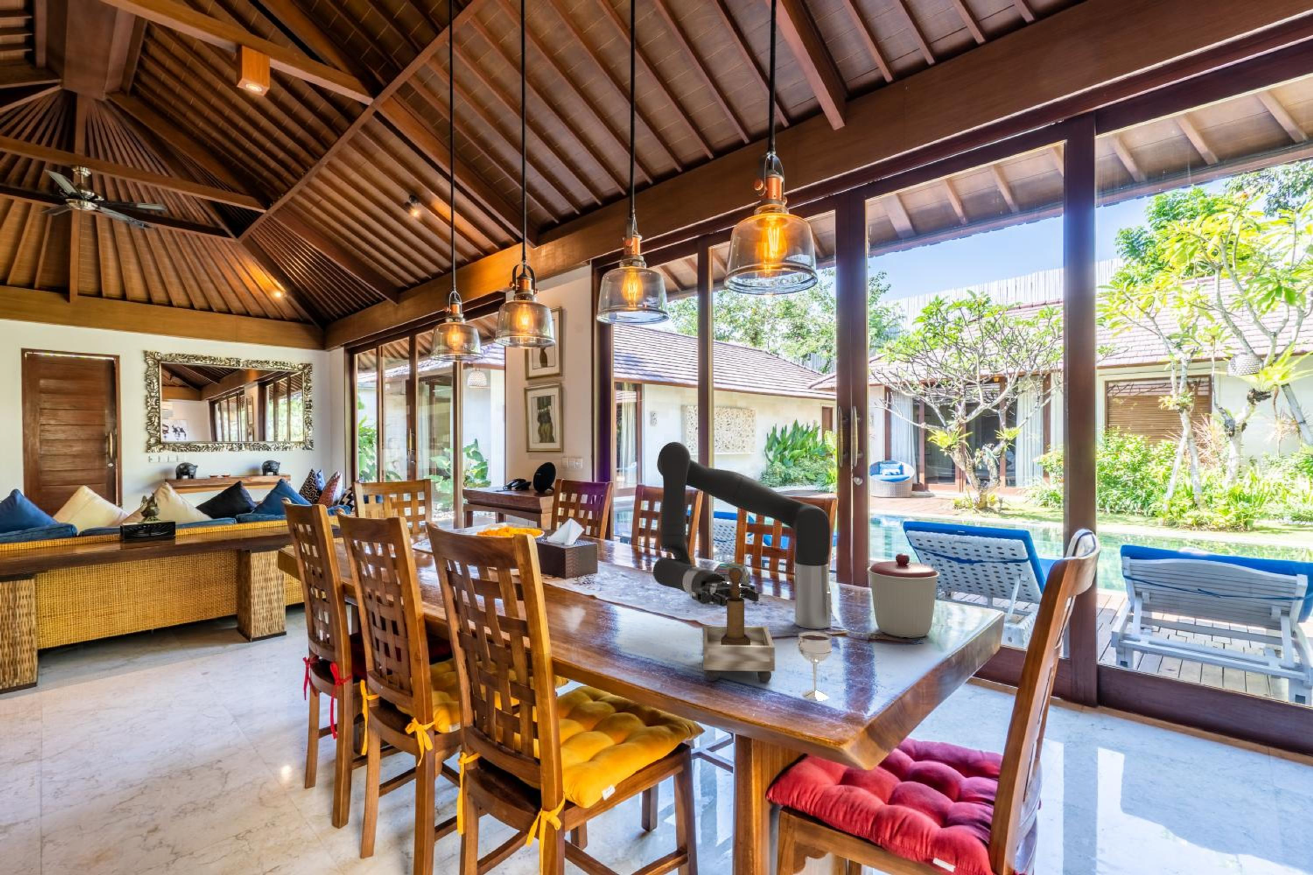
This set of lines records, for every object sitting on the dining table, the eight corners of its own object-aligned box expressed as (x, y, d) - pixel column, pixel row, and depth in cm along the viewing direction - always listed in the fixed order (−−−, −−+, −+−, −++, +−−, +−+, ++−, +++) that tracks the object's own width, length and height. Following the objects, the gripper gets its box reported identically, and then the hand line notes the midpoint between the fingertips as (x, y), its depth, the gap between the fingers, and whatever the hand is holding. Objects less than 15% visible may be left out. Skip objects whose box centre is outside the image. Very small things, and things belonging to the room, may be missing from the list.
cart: (767, 660, 145) (767, 626, 145) (775, 685, 130) (774, 647, 130) (703, 659, 146) (702, 625, 146) (703, 684, 131) (702, 646, 131)
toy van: (751, 587, 218) (751, 559, 218) (740, 605, 194) (740, 573, 195) (721, 586, 221) (721, 558, 221) (707, 603, 198) (707, 571, 198)
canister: (863, 621, 176) (863, 547, 176) (931, 624, 172) (930, 548, 173) (872, 641, 158) (871, 558, 159) (948, 645, 155) (947, 560, 155)
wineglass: (795, 699, 123) (795, 638, 123) (800, 686, 129) (800, 629, 129) (831, 704, 120) (830, 642, 120) (834, 691, 127) (833, 632, 127)
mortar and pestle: (743, 655, 133) (742, 572, 134) (715, 650, 137) (715, 569, 137) (755, 647, 139) (754, 567, 139) (728, 642, 142) (728, 564, 143)
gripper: (677, 571, 148) (713, 585, 133) (728, 566, 154) (767, 578, 139) (678, 603, 148) (713, 620, 133) (728, 596, 154) (767, 612, 139)
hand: (741, 599), depth 136 cm, fingers open, 8 cm apart
